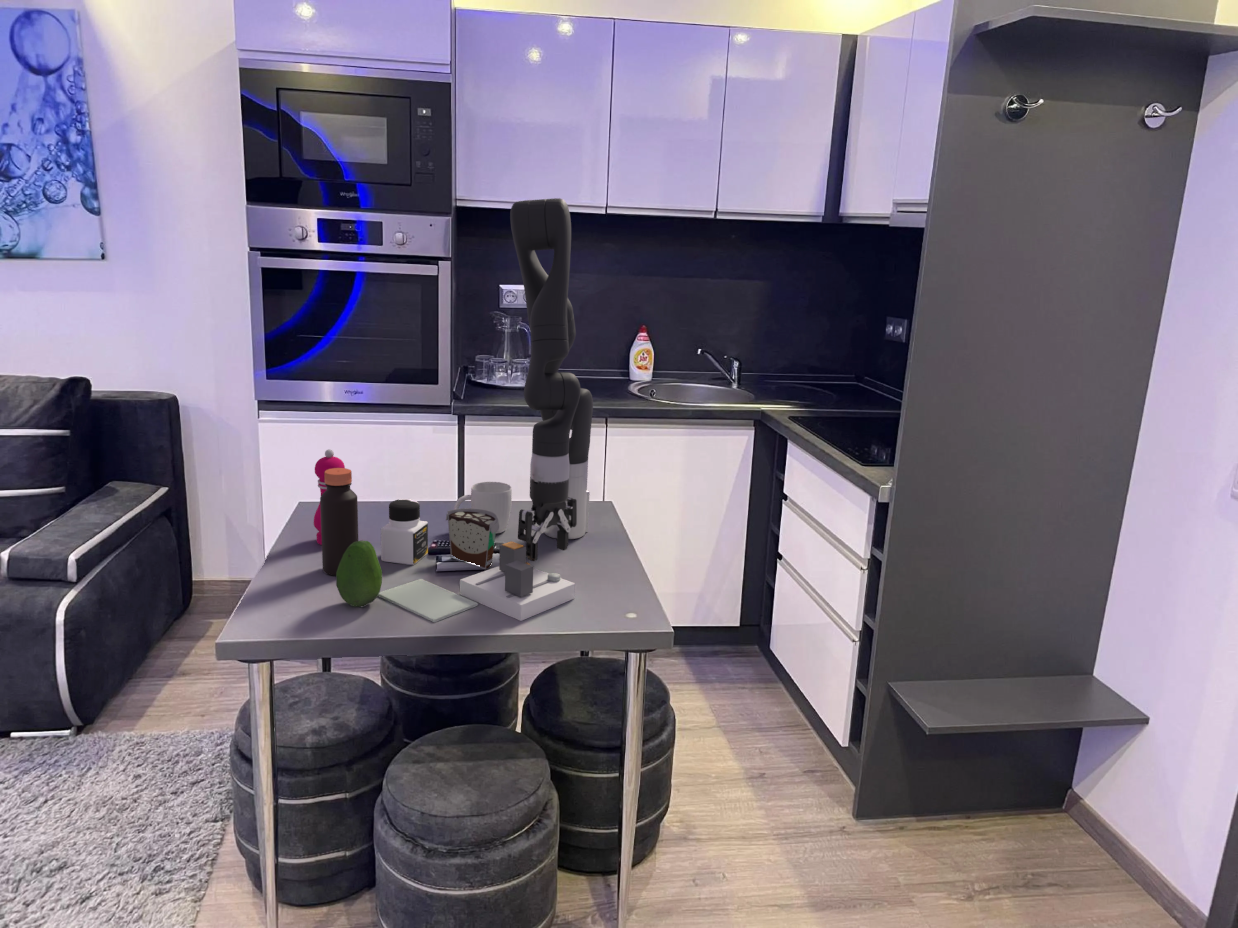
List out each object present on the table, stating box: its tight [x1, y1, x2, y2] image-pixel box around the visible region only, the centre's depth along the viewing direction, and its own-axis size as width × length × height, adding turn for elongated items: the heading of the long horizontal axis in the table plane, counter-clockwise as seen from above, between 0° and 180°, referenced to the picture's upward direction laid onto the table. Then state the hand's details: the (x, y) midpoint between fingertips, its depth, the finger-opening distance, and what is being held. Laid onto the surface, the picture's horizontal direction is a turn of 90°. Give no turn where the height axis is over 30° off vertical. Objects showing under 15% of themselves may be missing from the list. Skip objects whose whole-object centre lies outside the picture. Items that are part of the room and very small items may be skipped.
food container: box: [445, 507, 499, 570], centre depth 182 cm, size 12×6×10 cm, turn 58°
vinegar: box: [319, 467, 359, 577], centre depth 172 cm, size 7×7×20 cm
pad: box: [377, 578, 479, 623], centre depth 163 cm, size 10×16×1 cm, turn 51°
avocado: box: [335, 539, 383, 608], centre depth 158 cm, size 8×8×12 cm
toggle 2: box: [505, 560, 534, 597], centre depth 160 cm, size 3×4×5 cm
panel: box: [459, 561, 576, 622], centre depth 166 cm, size 14×16×4 cm
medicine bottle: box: [380, 498, 429, 566], centre depth 181 cm, size 7×7×12 cm
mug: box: [453, 481, 513, 535], centre depth 200 cm, size 13×9×10 cm
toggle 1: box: [498, 540, 527, 572], centre depth 169 cm, size 3×4×5 cm
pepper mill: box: [313, 449, 346, 546], centre depth 187 cm, size 7×7×20 cm
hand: (547, 554), depth 177 cm, fingers open, 8 cm apart
